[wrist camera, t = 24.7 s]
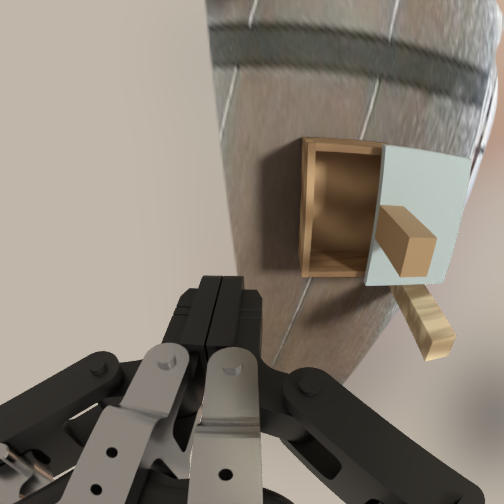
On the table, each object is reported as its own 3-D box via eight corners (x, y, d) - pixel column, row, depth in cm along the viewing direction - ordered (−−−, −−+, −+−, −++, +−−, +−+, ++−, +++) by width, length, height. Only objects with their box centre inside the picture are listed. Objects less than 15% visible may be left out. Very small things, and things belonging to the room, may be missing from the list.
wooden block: (391, 267, 41) (432, 341, 27) (410, 265, 40) (456, 335, 26) (388, 286, 42) (424, 361, 28) (407, 283, 42) (447, 355, 28)
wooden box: (301, 136, 33) (308, 143, 28) (432, 149, 32) (455, 159, 26) (298, 253, 41) (301, 277, 35) (414, 254, 39) (430, 275, 34)
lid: (382, 144, 27) (421, 161, 19) (467, 157, 26) (514, 179, 18) (363, 281, 35) (383, 330, 27) (439, 279, 34) (469, 320, 26)
